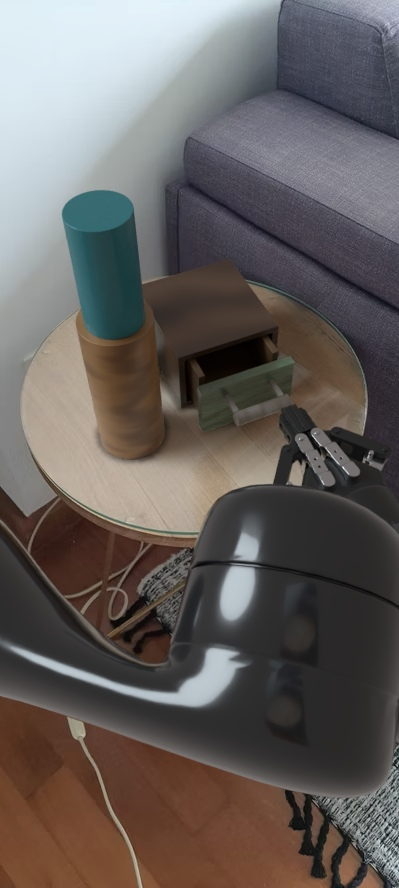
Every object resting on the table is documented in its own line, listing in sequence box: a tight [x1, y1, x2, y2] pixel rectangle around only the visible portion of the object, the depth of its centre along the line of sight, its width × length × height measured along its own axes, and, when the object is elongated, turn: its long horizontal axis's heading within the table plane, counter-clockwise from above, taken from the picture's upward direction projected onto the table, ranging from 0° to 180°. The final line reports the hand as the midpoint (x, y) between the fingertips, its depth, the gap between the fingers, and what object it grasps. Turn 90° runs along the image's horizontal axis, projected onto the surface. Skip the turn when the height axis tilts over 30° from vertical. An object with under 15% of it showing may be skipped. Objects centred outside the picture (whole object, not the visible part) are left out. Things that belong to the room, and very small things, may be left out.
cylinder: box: [61, 189, 145, 340], centre depth 62 cm, size 6×6×12 cm
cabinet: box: [142, 258, 280, 409], centre depth 85 cm, size 14×13×9 cm
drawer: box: [185, 335, 296, 433], centre depth 81 cm, size 17×11×7 cm
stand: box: [75, 301, 166, 460], centre depth 74 cm, size 8×8×18 cm
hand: (286, 411), depth 69 cm, fingers closed
